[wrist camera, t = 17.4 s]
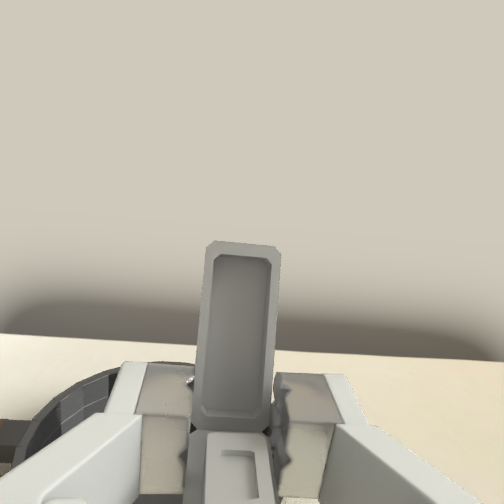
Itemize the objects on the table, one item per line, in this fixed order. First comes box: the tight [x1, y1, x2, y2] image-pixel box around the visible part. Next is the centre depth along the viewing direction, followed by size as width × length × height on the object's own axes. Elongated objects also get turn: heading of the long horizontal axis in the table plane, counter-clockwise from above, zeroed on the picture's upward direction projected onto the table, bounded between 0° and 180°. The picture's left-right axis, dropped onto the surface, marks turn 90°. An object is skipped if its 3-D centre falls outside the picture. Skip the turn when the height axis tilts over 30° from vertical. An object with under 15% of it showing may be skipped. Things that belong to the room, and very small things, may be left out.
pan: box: [10, 361, 287, 504], centre depth 25 cm, size 15×15×4 cm
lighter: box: [183, 241, 281, 504], centre depth 9 cm, size 7×2×8 cm, turn 5°
